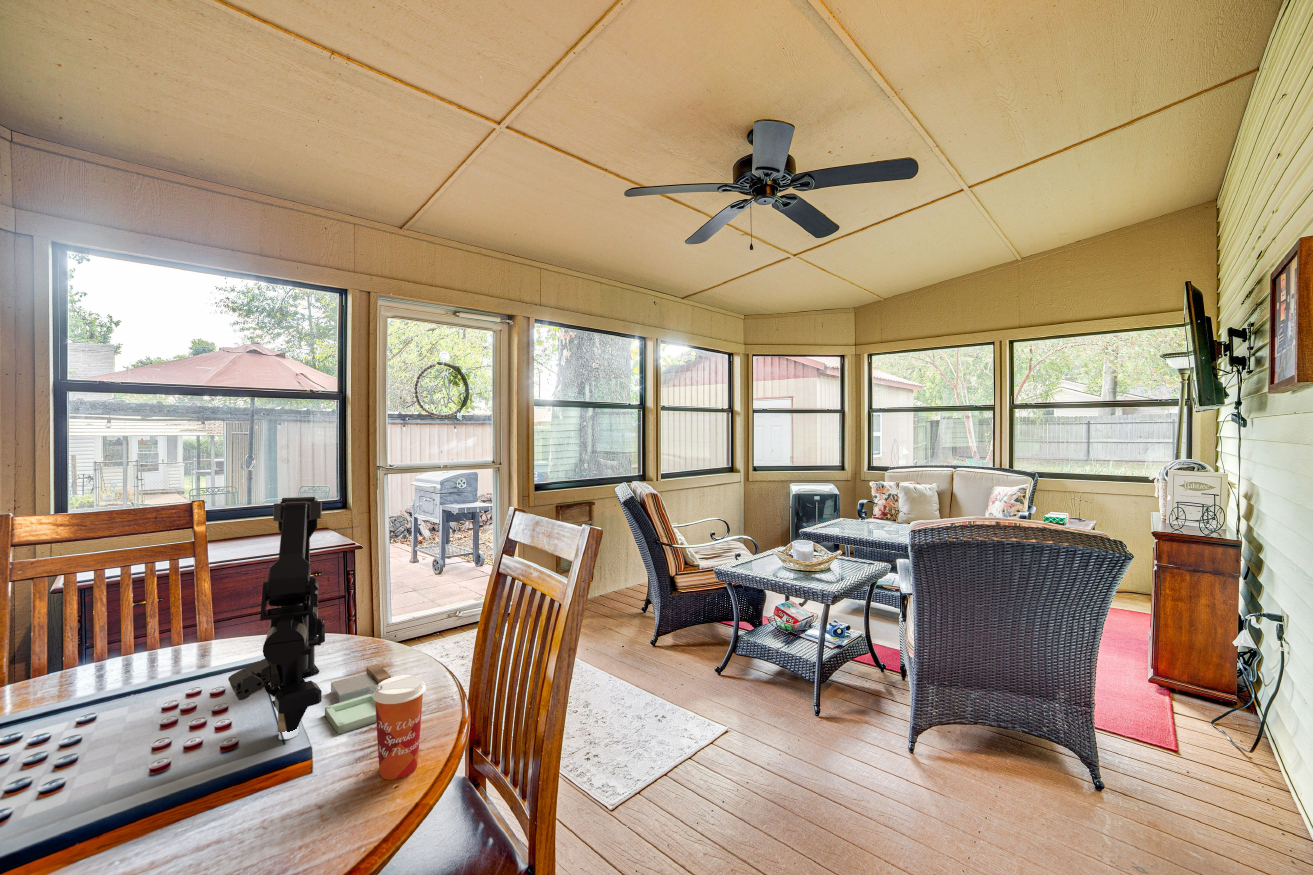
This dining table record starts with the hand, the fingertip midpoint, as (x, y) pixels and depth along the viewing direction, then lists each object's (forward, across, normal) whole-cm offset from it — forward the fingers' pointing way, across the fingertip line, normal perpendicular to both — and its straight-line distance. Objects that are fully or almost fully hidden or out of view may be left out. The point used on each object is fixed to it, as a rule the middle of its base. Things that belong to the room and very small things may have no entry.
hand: (288, 729), depth 100 cm
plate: (+2, -9, +13) cm, 16 cm away
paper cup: (+1, +23, +11) cm, 26 cm away
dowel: (+1, 0, 0) cm, 1 cm away
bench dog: (+1, -10, +18) cm, 20 cm away
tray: (+1, +1, +11) cm, 11 cm away
